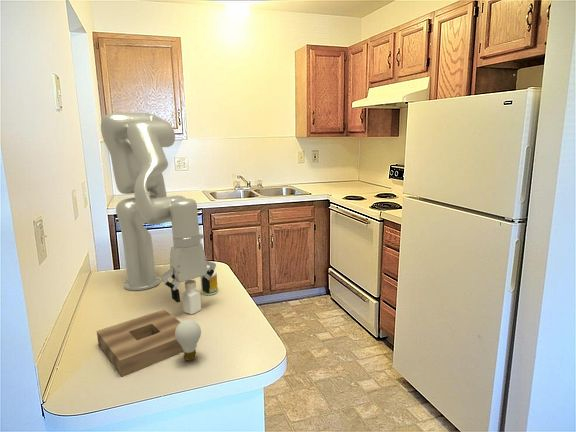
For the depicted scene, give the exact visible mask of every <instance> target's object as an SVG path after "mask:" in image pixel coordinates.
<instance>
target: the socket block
mask: <svg viewBox="0 0 576 432" xmlns="http://www.w3.org/2000/svg"><path fill="white" fill-rule="evenodd" d="M181 322H182V321H180V320H178V319H177V318H176V317H175V316H174V315H172V314H171V313H169V311H168V310H166V309H161V310H157V311H154V312H151V313H148V314H145V315H142V316H139V317H136V318H133V319H130V320H126V321H124V322H121V323H118V324H114V325H111V326H108V327H105V328H103V329H99V330H96V336H97V344H98V346H99V348H100V349H101V350H102V352H103V353H104V355H105V356H106V358H107V359H108V361H110V363H111V365H112V366H113V367H114V368H115V370H116V371H117V373H118V374H119V375H120V377H124V376H126V375H129V374H132V373H134V372H137V371H139V370H141V369H144V368H146V367H149V366H152V365H154V364H156V363H159V362H161V361H164V360H167V359H169V358H171V357H174V356H176V355H178V354H182V353H184V351H183V349H182V346H181V345H180V344H179V343H178V341H177V340H176V337H175V330H176V328H177V326H178V325H179V324H180V323H181Z"/></svg>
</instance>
